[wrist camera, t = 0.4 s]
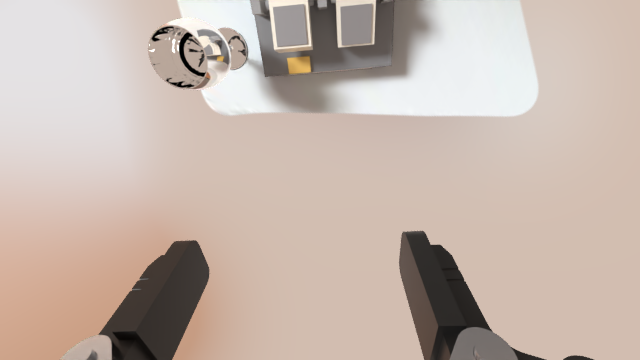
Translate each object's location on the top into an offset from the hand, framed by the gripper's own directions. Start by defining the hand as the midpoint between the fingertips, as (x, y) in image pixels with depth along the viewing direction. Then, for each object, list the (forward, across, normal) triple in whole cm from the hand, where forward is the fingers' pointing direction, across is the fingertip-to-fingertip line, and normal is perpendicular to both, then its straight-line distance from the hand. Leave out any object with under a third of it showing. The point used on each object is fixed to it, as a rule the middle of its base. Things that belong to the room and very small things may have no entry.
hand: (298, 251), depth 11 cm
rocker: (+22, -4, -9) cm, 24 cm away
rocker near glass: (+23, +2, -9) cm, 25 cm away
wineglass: (+27, +10, -6) cm, 30 cm away
